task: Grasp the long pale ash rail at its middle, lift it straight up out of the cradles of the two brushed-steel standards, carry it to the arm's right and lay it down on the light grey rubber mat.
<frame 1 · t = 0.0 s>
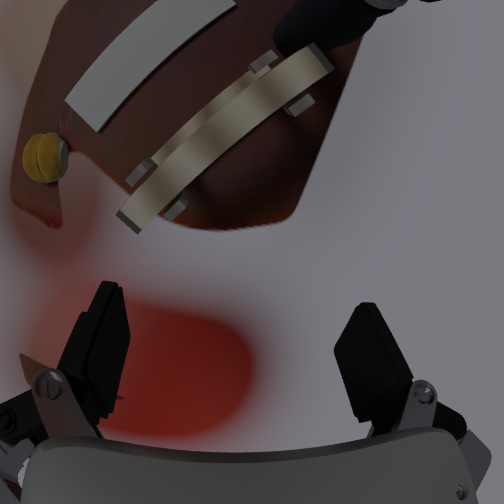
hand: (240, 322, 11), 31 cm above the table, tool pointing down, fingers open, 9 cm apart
rack: (219, 122, 35), on the table
rail: (216, 132, 26), point 10 cm above the table, touching rack
wine bottle: (296, 38, 29), on the table
mat: (141, 47, 27), on the table
bread roll: (50, 154, 34), on the table
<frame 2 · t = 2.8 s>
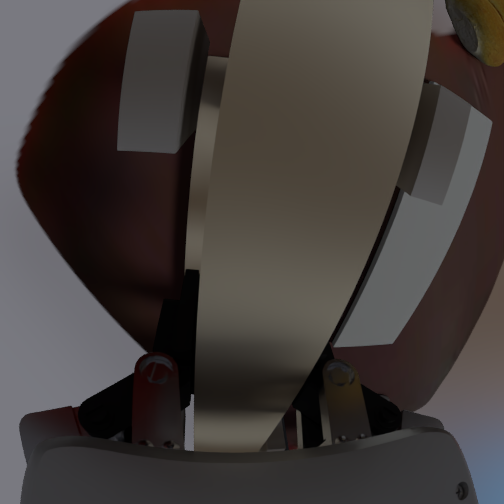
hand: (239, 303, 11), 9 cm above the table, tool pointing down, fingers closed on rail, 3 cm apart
rack: (233, 213, 19), on the table
rail: (240, 324, 11), point 10 cm above the table, touching gripper, rack
mat: (417, 240, 21), on the table
bread roll: (474, 22, 11), on the table
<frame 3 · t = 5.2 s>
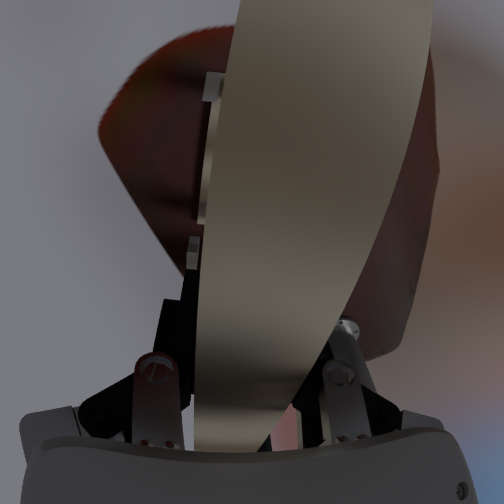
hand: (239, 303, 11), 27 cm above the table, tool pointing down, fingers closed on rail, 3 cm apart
rack: (229, 152, 34), on the table
rail: (240, 323, 11), point 28 cm above the table, touching gripper
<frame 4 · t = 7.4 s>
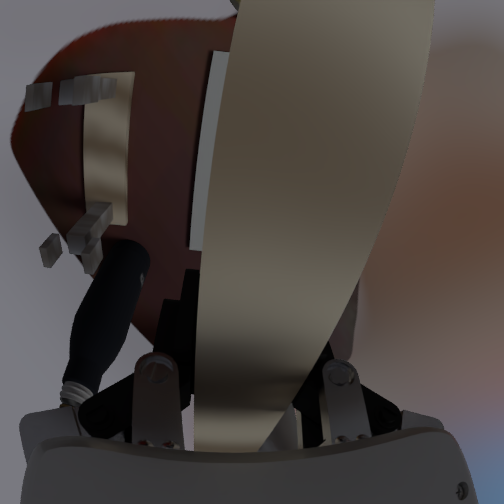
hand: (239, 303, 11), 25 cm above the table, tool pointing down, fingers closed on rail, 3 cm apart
rack: (106, 150, 30), on the table
rail: (240, 322, 11), point 26 cm above the table, touching gripper
wine bottle: (130, 257, 39), on the table
mat: (231, 159, 32), on the table
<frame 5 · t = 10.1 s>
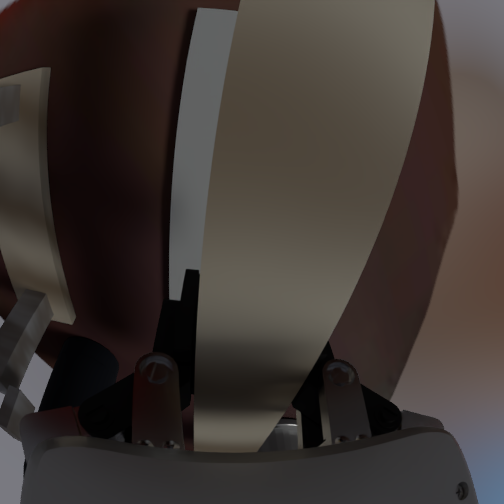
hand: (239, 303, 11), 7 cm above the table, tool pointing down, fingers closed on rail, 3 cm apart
rack: (23, 210, 15), on the table
rail: (241, 322, 10), point 8 cm above the table, touching gripper
wine bottle: (91, 355, 24), on the table
mat: (235, 229, 18), on the table
when the fingers open (1 cm above the table, at t = 12.2 s): rail drops 2 cm, resting on mat.
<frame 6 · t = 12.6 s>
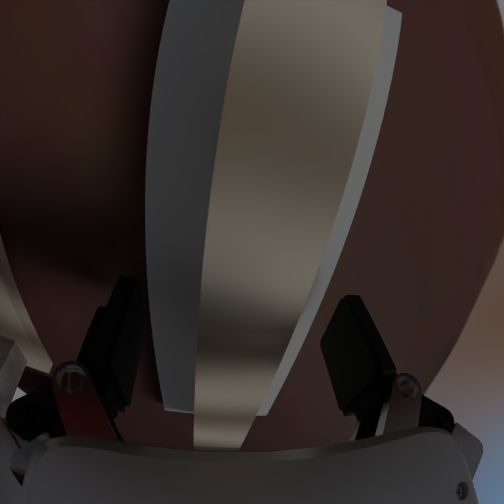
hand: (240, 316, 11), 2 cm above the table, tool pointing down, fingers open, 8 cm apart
rail: (238, 291, 12), point 1 cm above the table, touching mat
mat: (237, 282, 13), on the table
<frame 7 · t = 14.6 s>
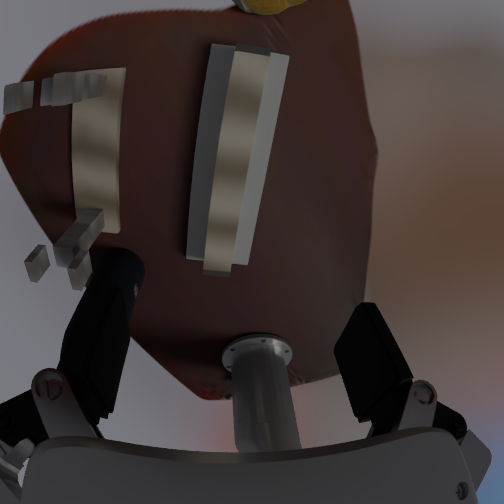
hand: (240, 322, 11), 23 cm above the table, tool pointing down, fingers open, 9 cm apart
rack: (96, 152, 27), on the table
rail: (230, 163, 29), point 1 cm above the table, touching mat
wine bottle: (124, 266, 36), on the table
mat: (230, 162, 30), on the table
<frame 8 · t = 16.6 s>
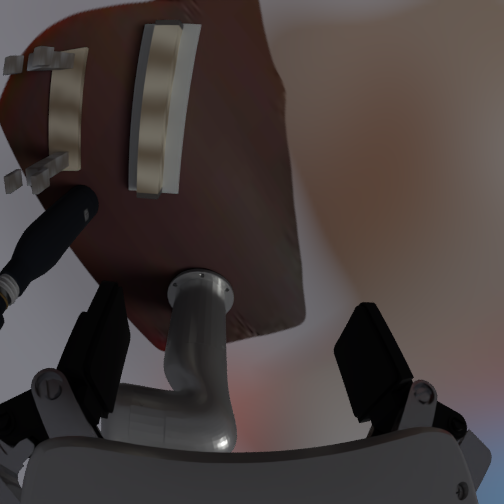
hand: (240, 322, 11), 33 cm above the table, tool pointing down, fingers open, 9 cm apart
rack: (66, 109, 32), on the table
rail: (158, 107, 34), point 1 cm above the table, touching mat
wine bottle: (83, 202, 41), on the table
mat: (159, 107, 34), on the table
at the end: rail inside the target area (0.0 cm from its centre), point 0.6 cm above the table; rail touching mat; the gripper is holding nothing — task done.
